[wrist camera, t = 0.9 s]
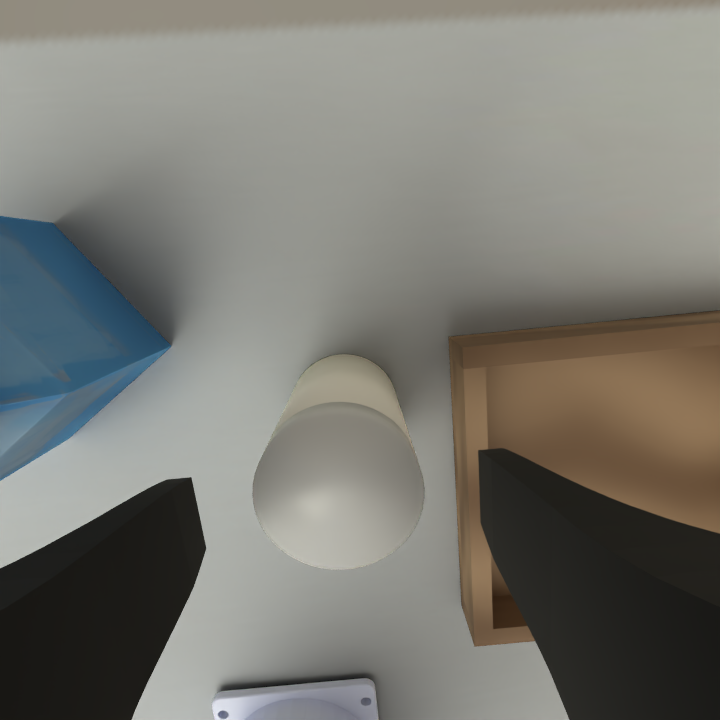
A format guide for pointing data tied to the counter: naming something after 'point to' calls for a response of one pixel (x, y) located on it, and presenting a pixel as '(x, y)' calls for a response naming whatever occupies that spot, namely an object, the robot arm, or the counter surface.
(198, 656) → the counter surface
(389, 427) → the cylinder
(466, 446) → the walnut tray
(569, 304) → the counter surface
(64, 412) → the perfume bottle
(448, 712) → the counter surface
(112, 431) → the counter surface
